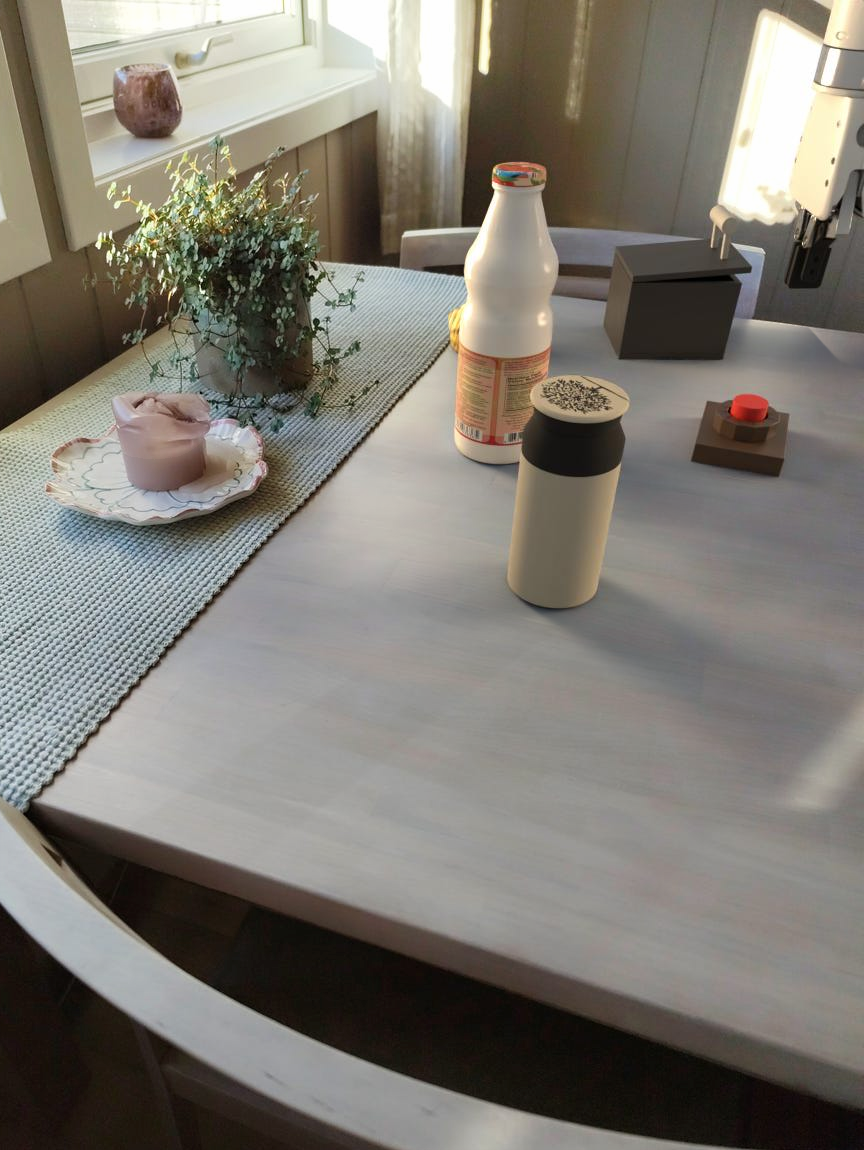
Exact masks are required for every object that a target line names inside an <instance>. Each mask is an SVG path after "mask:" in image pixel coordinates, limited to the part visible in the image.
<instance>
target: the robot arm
mask: <svg viewBox="0 0 864 1150" xmlns="http://www.w3.org/2000/svg"><path fill="white" fill-rule="evenodd" d="M811 85H812V86H811V89H812V90H814V91H815V94H814V97H813V99H812V102H811V105H810V108H809V111H808V115H807V117H806V119H805V123H804V126H803V129H802V133H801V136H800V140H799V143H798V147H797V150H796V153H795V157H794V162H793V165H792V169H791V173H790V179H789V183H788V184H789V185H788V190H789V194H790V196H791V197H792V198H793V199H794V200H795V204H794V205H795V208H796V211H797V219H796V223H795V229H794V234H793V238H794V241H793V244H792V246H791V250H790V254H789V257H788V262H787V264H786V268H785V272H784V276H783V281H782V282H783V283H784V284H785V285H786V286H787V287H788V289H790V290H792V289H793V290H800V289H801V290H804V289H805V290H807V289H810V290H811V289H819V288H820V287H821V286H822V283H823V280H824V277H825V273H826V270H827V267H828V264H829V260H830V256H831V253H832V250H833V249H834V248H835V246H836V245H837V241H838V239H847V238H848V237H849V234H850V230H851V226H852V220H853V216H854V217H856V218H857V219H858V220H860V221H864V0H833V3H832V7H831V11H830V14H829V19H828V23H827V27H826V30H825V34H824V39H823V43H822V47H821V50H820V54H819V58H818V61H817V65H816V69H815V74H814V76H813V81H812V84H811Z"/></svg>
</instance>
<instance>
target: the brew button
mask: <svg viewBox="0 0 864 1150" xmlns="http://www.w3.org/2000/svg"><path fill="white" fill-rule="evenodd" d="M732 400H733V404H732V408H731V411H730V415H731V416H732V417H734V418H737V419H739V420H741V421H747V422H762V421H764V419H765V416H766V413H767V409H768V406H770V402H769V400H768V399H766V398H765V397H763V396H760V395H757V394H753V393H741V394H738V395H736V396H735V397H734V398H733V399H732Z"/></svg>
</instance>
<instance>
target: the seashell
mask: <svg viewBox="0 0 864 1150" xmlns="http://www.w3.org/2000/svg"><path fill="white" fill-rule="evenodd" d="M465 304H466V302H465V303H463V304H462V305H461V307H460V306H459V307H457V308H454V309H453V310H451V311H450V312H448V313H447V316H448V330H449V333H450V335H449V336H450V337H449V338H450V339H449V341H450V346H451V348H452V350H453V351H454V352H455V353H457V354H459V331H460V322H461V315H462V311H463V308H464V305H465Z"/></svg>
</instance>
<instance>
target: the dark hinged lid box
mask: <svg viewBox="0 0 864 1150" xmlns="http://www.w3.org/2000/svg"><path fill="white" fill-rule="evenodd" d="M742 286H743V282H742V281H741V280H740V279H739V278H738V276H737V274H732V275H720V276H707V277H695V278H682V279H670V280H657V281H645V282H632V281H631V279H630V277H629V276H628V274H627V272H626V270H625V269H624V267H623V265H622V263H621V262H620V260H619V258H618V257H617V255H616V253H615V252H614V255H613V260H612V268H611V274H610V281H609V286H608V293H607V299H606V305H605V312H604V316H603V325H602V326H603V328H604V330H605V333H606V335H607V337H608V339H609V341H610V344H611V346H612V348H613V350H614V352H615V355H616V357H617V358H618V360H683V361H685V360H693V361H695V360H699V361H701V360H702V361H703V360H711V361H713V360H715V361H716V360H719V361H721V360H724V356H725V353H726V350H727V345H728V341H729V337H730V333H731V330H732V325H733V321H734V317H735V313H736V310H737V305H738V301H739V297H740V294H741V289H742Z"/></svg>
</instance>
